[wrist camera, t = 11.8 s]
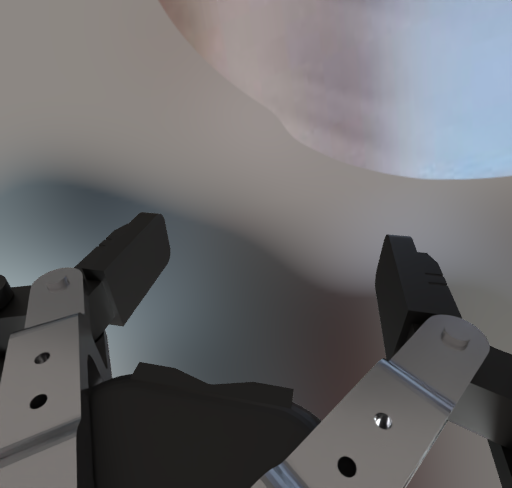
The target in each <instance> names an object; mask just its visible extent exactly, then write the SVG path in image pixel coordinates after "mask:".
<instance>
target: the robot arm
mask: <svg viewBox="0 0 512 488" xmlns="http://www.w3.org/2000/svg"><path fill="white" fill-rule="evenodd" d="M169 258H170V245H169V240H168V235H167V230H166V224H165V220H164V217H163V216H162V215H161V214H155V213H144V212H142V213H139V214H138V215H137V216H136V217H135V218H134V219H133V220H132V221H131V222H130V223H129V224H126V225H124V226H122V227H120V228H118V229H116V230H114V231H113V232H112V233H111V234H110V235H109V236H108V237H107V238H106V240H104V241H103V242H102V243H100V244H99V247H96V248H95V249H94V250H93V251H92V252H91V253H90V254H88V255H87V256H86V257H85V258H84V259H83V260H82V261H81V262H80V263H79V264H78V265H76V266H75V267H74V268H60V269H56V270H53V271H50V272H48V273H46V274H44V275H42V276H41V277H39V278H38V279H37V280H36V281H35V282H34V283H33V284H32V285H31V286H21V287H10V285H9V284H8V282H7V280H6V278H5V277H4V276H2V275H0V488H406V487H407V485H408V483H409V482H410V480H411V478H412V477H413V475H414V474H415V472H416V470H417V469H418V467H419V466H420V464H421V462H422V461H423V459H424V458H425V456H426V455H427V453H428V451H429V450H430V448H431V447H432V445H433V443H434V442H435V440H436V439H437V437H438V435H439V434H440V432H441V431H442V429H443V428H444V426H445V424H446V423H447V421H450V422H452V423H454V424H457V425H459V426H461V427H463V428H465V429H467V430H469V431H472V432H474V433H476V434H478V435H480V436H482V437H484V438H486V439H487V440H488V443H489V446H490V449H491V452H492V456H493V459H494V462H495V465H496V468H497V472H498V475H499V478H500V482H501V484H502V488H512V355H511V354H509V353H506V352H503V351H501V350H498V349H496V348H494V347H491V346H490V345H489V342H488V340H487V338H486V336H485V335H484V334H483V333H482V332H481V331H480V330H479V329H478V328H477V327H476V326H474V325H473V324H471V323H469V322H468V321H465V320H464V319H462V317H461V315H460V313H459V310H458V308H457V306H456V303H455V301H454V299H453V296H452V295H451V292H450V290H449V288H448V286H447V283H446V281H445V278H444V277H443V274H442V272H441V269H440V267H439V265H438V263H437V262H436V261H435V260H434V259H433V258H431V257H430V256H429V255H428V254H427V253H420V252H417V251H416V248H415V245H414V242H413V240H412V238H411V237H409V236H397V235H386V237H385V239H384V243H383V247H382V251H381V255H380V259H379V263H378V267H377V272H376V279H375V290H376V296H377V302H378V309H379V315H380V321H381V328H382V334H383V341H384V347H385V353H386V359H384V358H383V359H382V360H380V361H379V362H378V363H377V364H376V365H375V366H374V367H373V368H372V369H371V370H370V371H369V372H368V373H367V374H366V375H365V376H364V377H363V378H362V380H360V381H359V383H358V384H357V385H356V386H355V387H354V388H353V389H352V390H351V391H350V392H349V393H348V394H347V395H346V396H345V397H344V398H343V399H342V401H341V402H340V403H339V404H338V405H337V406H336V407H335V408H334V409H333V410H332V411H331V412H330V413H329V414H328V415H327V417H326V418H324V420H323V421H321V420H320V419H319V418H318V417H316V416H315V415H314V414H312V413H311V412H310V411H308V410H307V409H305V408H303V407H302V406H300V405H298V404H295V403H293V402H292V401H293V389H290V388H284V387H279V386H273V385H267V384H262V383H256V382H246V383H231V384H216V385H211V384H207V383H205V382H203V381H201V380H199V379H197V378H194V377H192V376H190V375H188V374H186V373H184V372H182V371H180V370H178V369H176V368H171V367H165V366H159V365H154V364H148V363H142V362H140V363H139V364H138V366H137V367H136V369H135V371H134V373H133V374H129V375H124V376H119V377H116V378H112V371H111V363H110V356H109V347H108V339H107V334H106V331H105V329H106V327H107V326H108V325H109V324H111V325H118V326H124V325H125V323H126V322H127V320H128V319H129V318H130V316H131V315H132V313H133V312H134V310H135V309H136V307H137V306H138V305H139V303H140V302H141V301H142V299H143V298H144V296H145V295H146V294H147V292H148V291H149V289H150V288H151V286H152V285H153V284H154V282H155V281H156V279H157V278H158V277H159V275H160V274H161V272H162V271H163V269H164V268H165V267H166V265H167V264H168V262H169Z"/></svg>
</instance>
